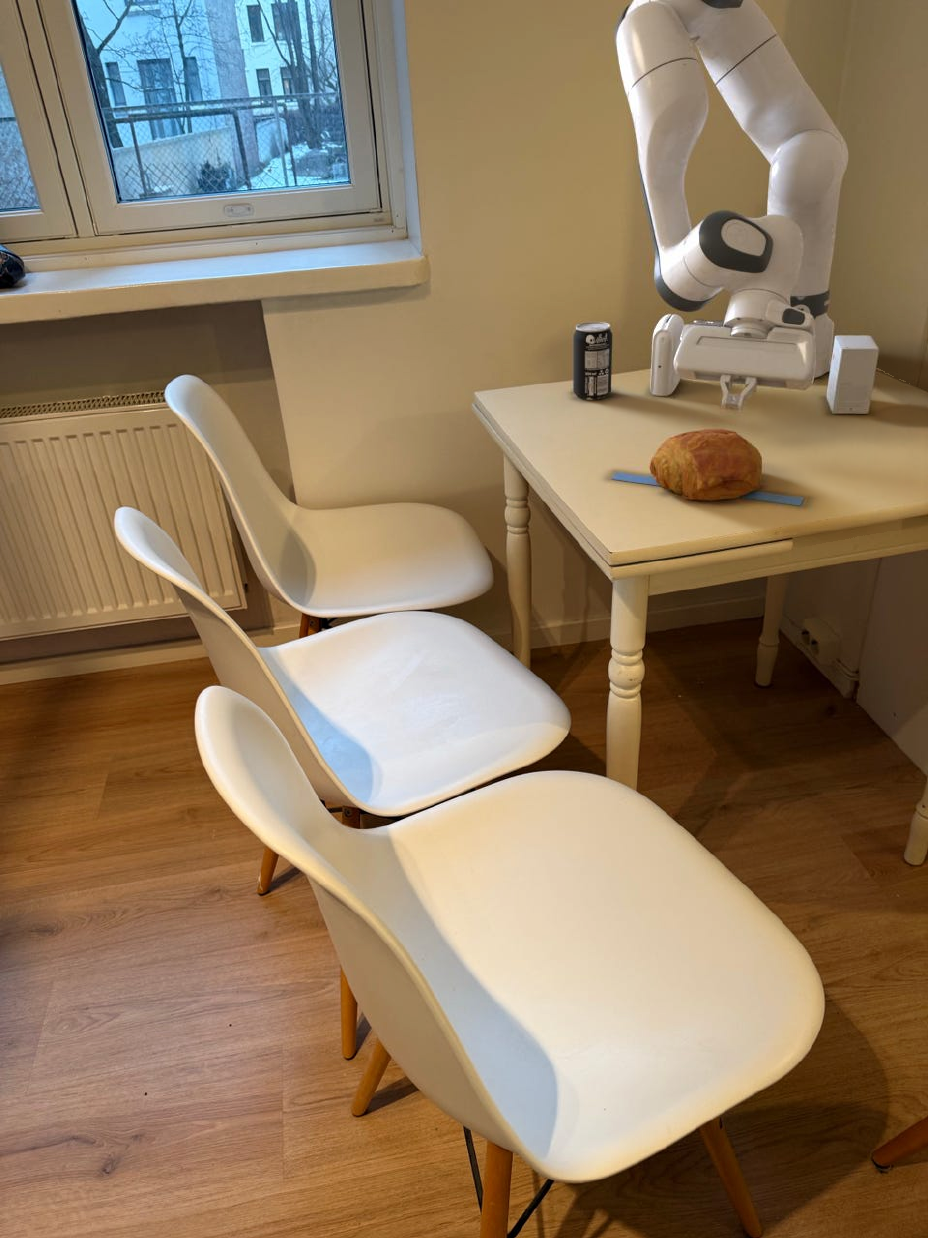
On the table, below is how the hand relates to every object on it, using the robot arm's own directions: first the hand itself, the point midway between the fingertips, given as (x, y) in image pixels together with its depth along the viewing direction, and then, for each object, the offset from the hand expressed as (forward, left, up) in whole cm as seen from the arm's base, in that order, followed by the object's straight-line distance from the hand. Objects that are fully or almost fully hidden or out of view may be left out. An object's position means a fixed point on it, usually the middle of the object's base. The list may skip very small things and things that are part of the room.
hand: (731, 408), depth 137 cm
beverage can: (-26, -20, -7) cm, 33 cm away
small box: (-17, +21, -7) cm, 28 cm away
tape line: (+14, -5, -6) cm, 16 cm away
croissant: (+13, -5, -6) cm, 15 cm away
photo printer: (-29, -7, -7) cm, 31 cm away
